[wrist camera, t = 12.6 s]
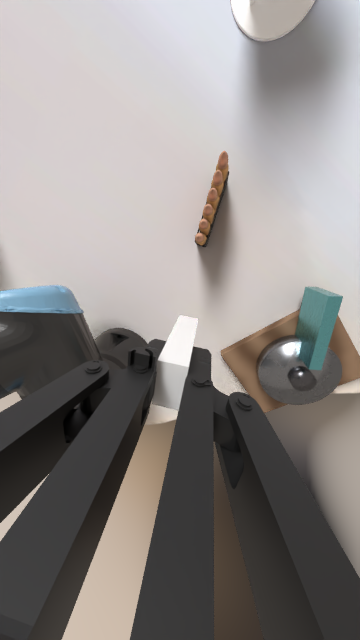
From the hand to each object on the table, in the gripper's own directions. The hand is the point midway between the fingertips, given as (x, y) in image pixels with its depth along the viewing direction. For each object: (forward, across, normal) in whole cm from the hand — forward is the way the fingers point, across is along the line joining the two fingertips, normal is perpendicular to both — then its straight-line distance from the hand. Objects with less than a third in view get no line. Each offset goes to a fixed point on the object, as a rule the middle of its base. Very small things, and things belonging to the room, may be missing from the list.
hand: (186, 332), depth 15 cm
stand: (+24, +21, -13) cm, 35 cm away
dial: (+22, +20, -8) cm, 31 cm away
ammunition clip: (+25, -1, +12) cm, 27 cm away
